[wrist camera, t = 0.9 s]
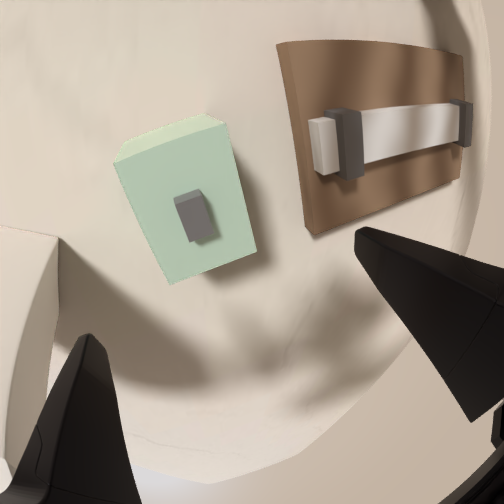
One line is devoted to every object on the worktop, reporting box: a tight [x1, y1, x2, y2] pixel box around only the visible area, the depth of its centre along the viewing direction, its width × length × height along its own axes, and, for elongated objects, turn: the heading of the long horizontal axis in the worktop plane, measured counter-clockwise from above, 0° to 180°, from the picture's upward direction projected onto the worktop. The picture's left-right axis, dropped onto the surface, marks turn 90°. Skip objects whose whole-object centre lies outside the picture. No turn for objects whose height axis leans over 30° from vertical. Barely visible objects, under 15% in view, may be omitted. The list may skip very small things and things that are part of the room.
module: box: [113, 113, 257, 285], centre depth 14 cm, size 5×7×6 cm
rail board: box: [276, 40, 473, 235], centre depth 18 cm, size 20×14×4 cm
